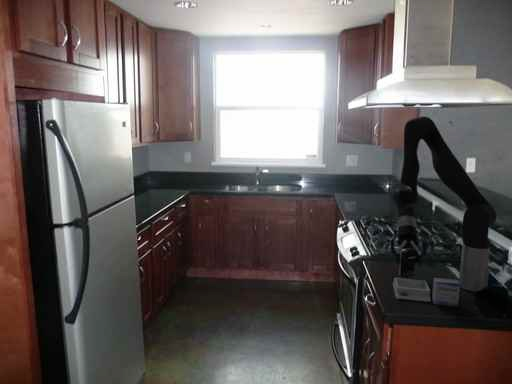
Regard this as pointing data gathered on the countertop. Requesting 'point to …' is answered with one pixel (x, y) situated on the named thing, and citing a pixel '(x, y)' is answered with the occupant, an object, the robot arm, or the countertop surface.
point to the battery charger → (407, 262)
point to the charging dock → (411, 289)
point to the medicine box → (445, 292)
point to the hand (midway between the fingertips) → (408, 264)
